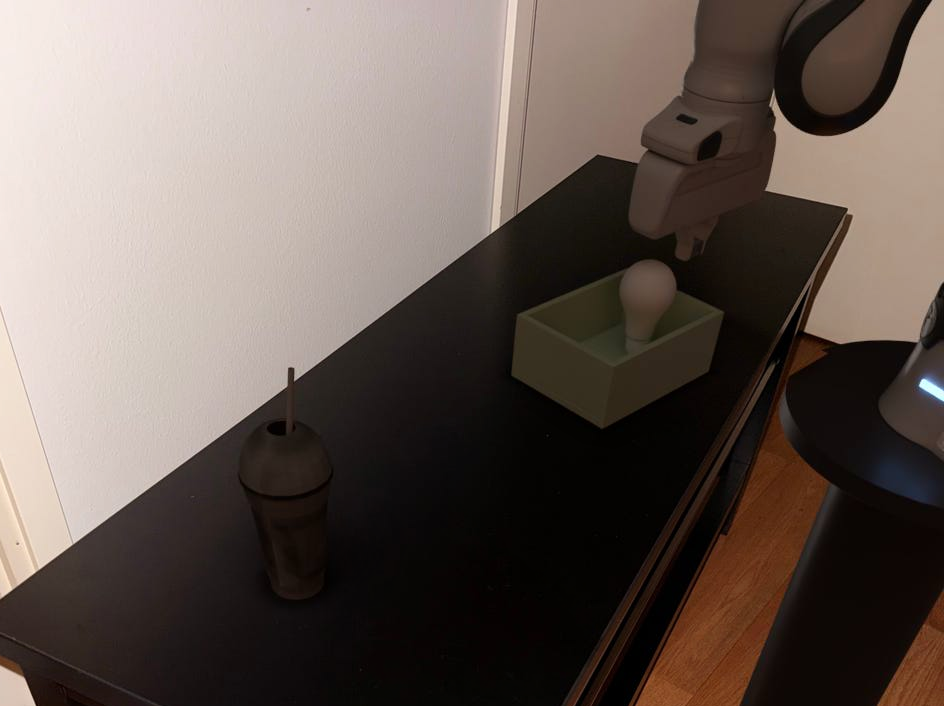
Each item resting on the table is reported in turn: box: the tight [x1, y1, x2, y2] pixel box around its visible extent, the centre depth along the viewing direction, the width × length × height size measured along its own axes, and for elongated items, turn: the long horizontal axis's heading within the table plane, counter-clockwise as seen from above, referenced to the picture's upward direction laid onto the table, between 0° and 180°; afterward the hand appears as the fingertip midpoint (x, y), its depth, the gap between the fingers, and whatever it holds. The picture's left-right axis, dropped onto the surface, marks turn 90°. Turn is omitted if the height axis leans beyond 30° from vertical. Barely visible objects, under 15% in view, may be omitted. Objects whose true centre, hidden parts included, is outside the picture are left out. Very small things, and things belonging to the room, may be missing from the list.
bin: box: [511, 266, 725, 430], centre depth 104 cm, size 19×14×7 cm
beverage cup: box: [237, 366, 334, 601], centre depth 73 cm, size 7×7×20 cm
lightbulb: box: [619, 258, 677, 353], centre depth 104 cm, size 6×6×11 cm
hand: (688, 256), depth 105 cm, fingers closed
